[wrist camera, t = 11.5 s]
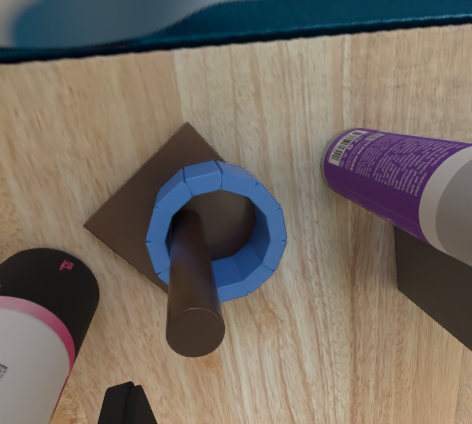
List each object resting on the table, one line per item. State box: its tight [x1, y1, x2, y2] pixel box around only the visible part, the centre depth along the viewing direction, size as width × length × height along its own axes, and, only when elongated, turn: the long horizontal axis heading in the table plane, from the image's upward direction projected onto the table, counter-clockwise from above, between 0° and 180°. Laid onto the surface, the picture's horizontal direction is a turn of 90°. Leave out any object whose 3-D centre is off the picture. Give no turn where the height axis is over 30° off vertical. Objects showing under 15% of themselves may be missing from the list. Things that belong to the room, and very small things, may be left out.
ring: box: [146, 160, 287, 303], centre depth 20 cm, size 8×8×4 cm
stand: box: [83, 122, 257, 357], centre depth 17 cm, size 9×9×12 cm
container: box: [321, 128, 472, 267], centre depth 16 cm, size 5×5×15 cm
